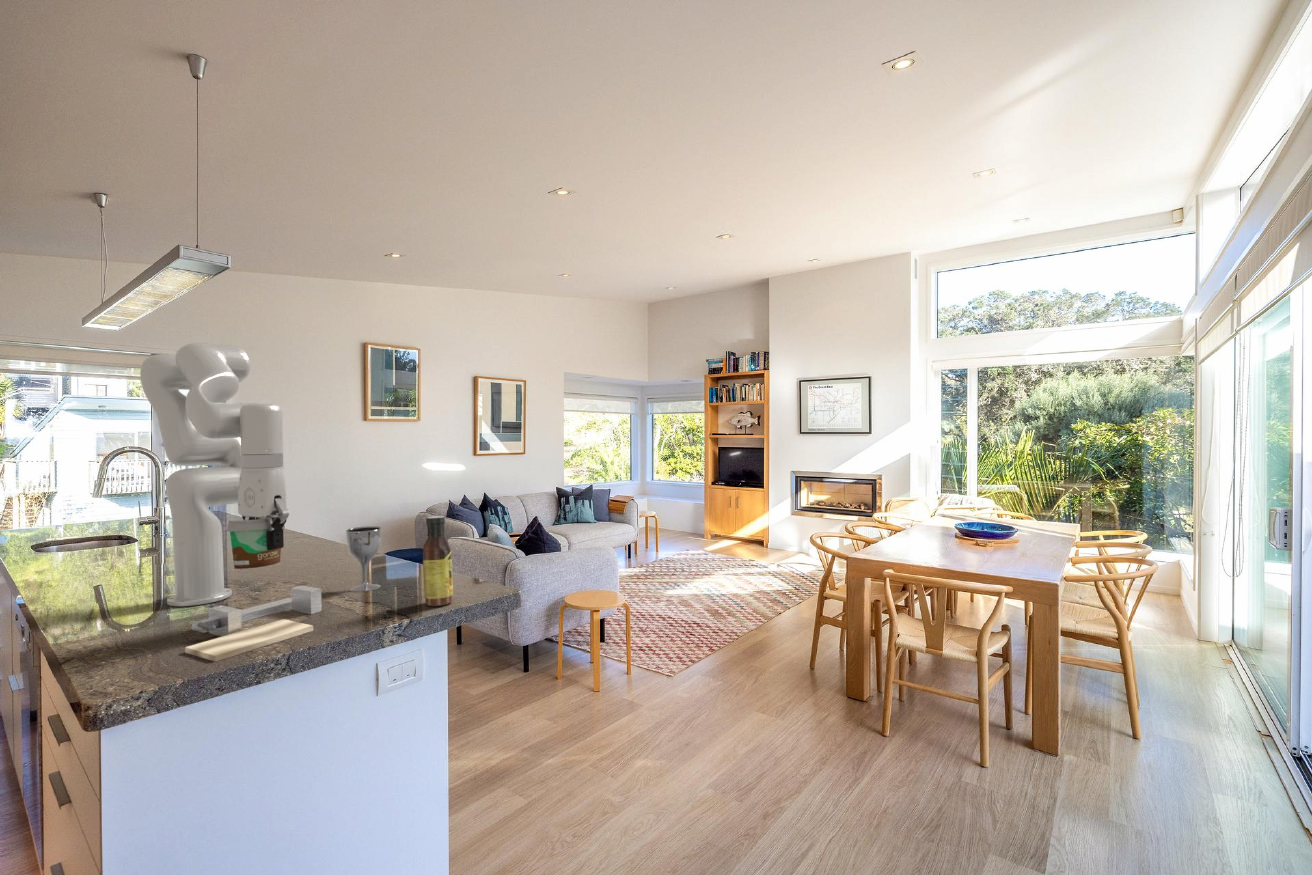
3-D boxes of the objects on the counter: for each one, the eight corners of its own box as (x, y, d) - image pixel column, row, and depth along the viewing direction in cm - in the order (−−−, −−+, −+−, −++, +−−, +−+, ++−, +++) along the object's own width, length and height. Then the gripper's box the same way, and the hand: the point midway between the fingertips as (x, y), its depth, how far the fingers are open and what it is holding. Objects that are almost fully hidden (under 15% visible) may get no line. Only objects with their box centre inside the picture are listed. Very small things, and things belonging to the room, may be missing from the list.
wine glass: (341, 591, 155) (339, 531, 154) (361, 583, 163) (359, 526, 162) (370, 592, 154) (368, 531, 153) (389, 584, 161) (387, 526, 161)
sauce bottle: (456, 604, 142) (454, 517, 142) (428, 609, 139) (426, 519, 138) (448, 597, 148) (446, 513, 147) (421, 602, 144) (418, 516, 144)
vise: (180, 633, 126) (179, 608, 125) (289, 603, 145) (288, 582, 145) (214, 642, 120) (213, 616, 120) (323, 610, 139) (322, 588, 139)
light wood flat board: (185, 652, 114) (185, 647, 114) (283, 623, 130) (283, 618, 130) (215, 661, 110) (215, 655, 110) (313, 630, 126) (313, 625, 126)
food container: (253, 571, 125) (252, 522, 125) (227, 570, 126) (226, 521, 126) (300, 558, 137) (299, 512, 137) (276, 556, 139) (275, 512, 138)
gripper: (220, 462, 132) (222, 546, 133) (268, 465, 124) (270, 554, 124) (257, 460, 139) (259, 540, 139) (305, 462, 130) (307, 547, 131)
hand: (264, 546), depth 132 cm, fingers closed on food container, 6 cm apart
